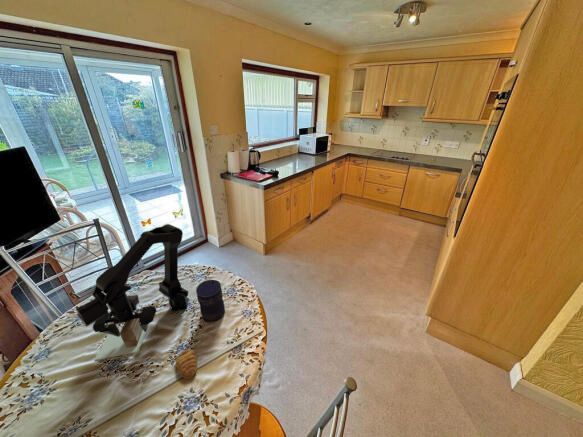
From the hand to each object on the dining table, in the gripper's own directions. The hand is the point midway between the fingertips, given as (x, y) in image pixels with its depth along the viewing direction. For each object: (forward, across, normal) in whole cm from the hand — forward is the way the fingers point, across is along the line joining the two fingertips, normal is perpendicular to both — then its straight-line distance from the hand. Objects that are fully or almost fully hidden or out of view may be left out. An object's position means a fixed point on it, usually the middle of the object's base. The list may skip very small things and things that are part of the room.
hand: (132, 333), depth 89 cm
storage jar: (+4, -29, -6) cm, 30 cm away
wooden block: (+3, 0, 0) cm, 3 cm away
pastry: (+4, -22, +15) cm, 27 cm away
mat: (+3, +4, 0) cm, 5 cm away
